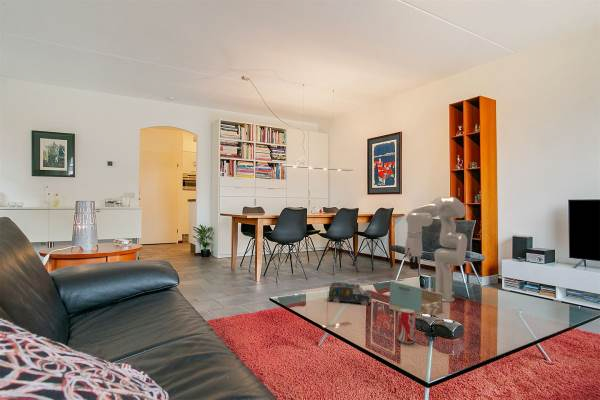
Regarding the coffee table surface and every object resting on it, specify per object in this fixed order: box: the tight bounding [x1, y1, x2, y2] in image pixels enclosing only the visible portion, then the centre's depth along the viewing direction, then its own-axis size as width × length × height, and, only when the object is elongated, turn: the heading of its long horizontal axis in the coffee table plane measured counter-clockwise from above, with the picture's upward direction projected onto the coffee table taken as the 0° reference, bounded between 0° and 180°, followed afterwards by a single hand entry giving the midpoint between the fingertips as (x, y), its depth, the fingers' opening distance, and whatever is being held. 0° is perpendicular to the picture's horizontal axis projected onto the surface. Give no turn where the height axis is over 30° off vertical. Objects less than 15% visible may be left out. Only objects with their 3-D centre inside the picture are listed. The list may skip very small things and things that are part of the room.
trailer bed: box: [388, 288, 443, 316], centre depth 182 cm, size 20×20×10 cm
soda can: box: [396, 308, 417, 345], centre depth 139 cm, size 7×7×13 cm
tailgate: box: [389, 280, 423, 312], centre depth 176 cm, size 2×19×12 cm, turn 37°
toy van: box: [327, 282, 372, 306], centre depth 196 cm, size 11×25×10 cm, turn 76°
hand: (413, 268), depth 181 cm, fingers closed
